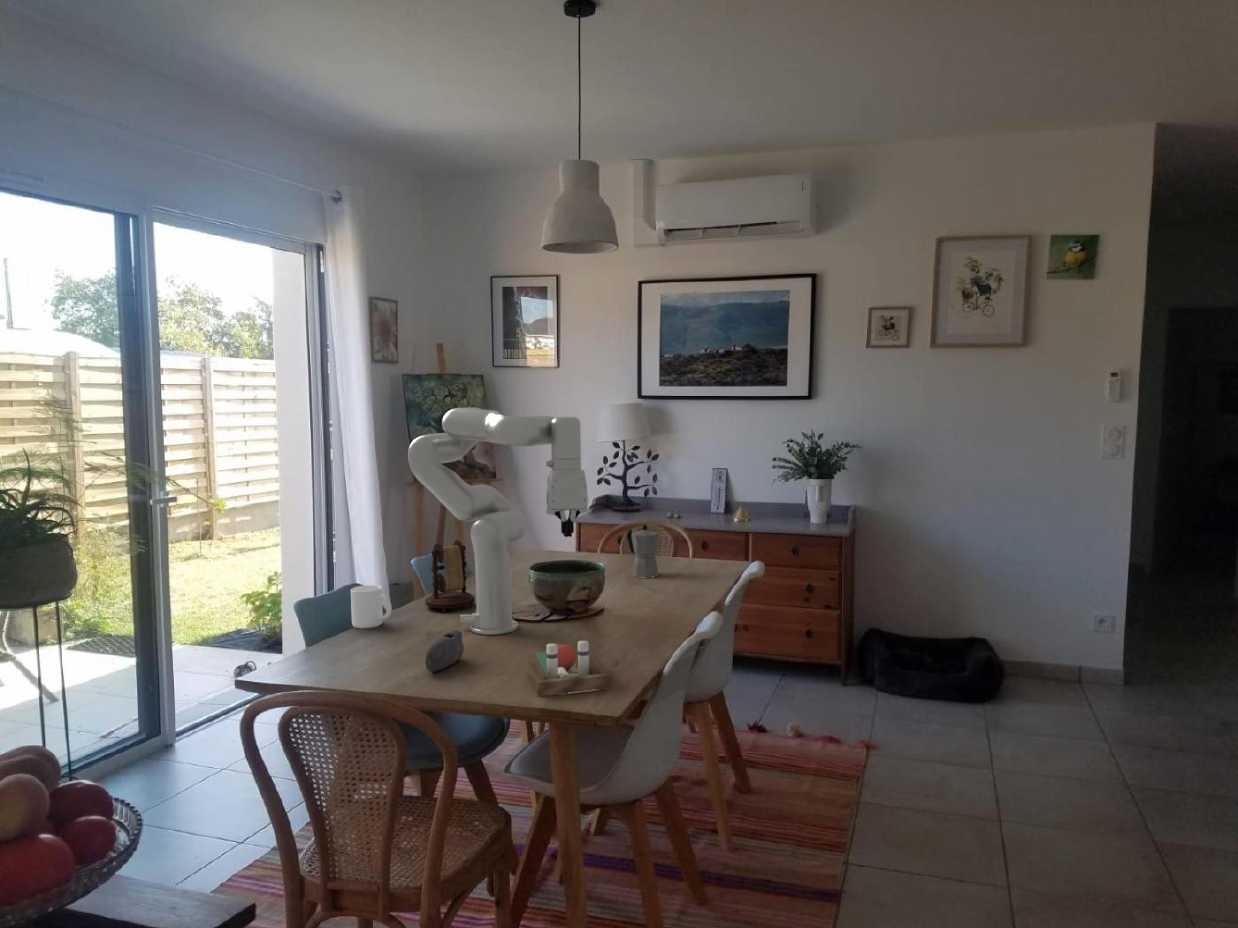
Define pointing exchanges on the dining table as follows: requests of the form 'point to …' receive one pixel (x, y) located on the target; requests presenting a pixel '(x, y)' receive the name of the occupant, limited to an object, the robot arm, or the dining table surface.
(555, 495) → the robot arm
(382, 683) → the dining table surface
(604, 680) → the backstop
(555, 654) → the pin left
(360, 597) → the mug
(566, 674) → the pin front
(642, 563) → the coffeepot
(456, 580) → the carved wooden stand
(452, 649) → the perforated stone tool
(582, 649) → the pin right
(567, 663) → the ball
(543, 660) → the strip
